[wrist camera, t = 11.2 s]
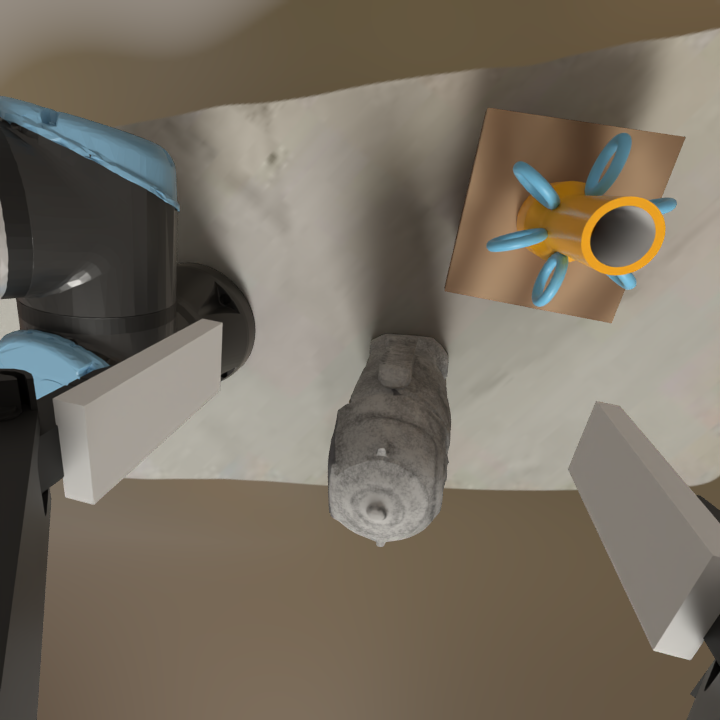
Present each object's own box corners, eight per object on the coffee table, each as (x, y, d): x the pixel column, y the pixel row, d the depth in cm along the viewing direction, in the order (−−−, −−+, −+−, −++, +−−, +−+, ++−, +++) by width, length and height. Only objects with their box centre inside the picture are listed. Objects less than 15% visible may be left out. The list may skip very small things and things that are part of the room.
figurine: (367, 423, 56) (317, 585, 33) (369, 316, 51) (311, 419, 28) (443, 430, 54) (448, 604, 31) (453, 320, 49) (467, 433, 26)
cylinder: (488, 296, 40) (515, 351, 26) (468, 177, 36) (486, 167, 23) (636, 264, 37) (756, 308, 23) (628, 131, 33) (762, 89, 20)
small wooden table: (443, 275, 47) (444, 291, 40) (479, 122, 42) (488, 107, 34) (583, 302, 46) (611, 323, 39) (640, 147, 40) (685, 137, 33)
